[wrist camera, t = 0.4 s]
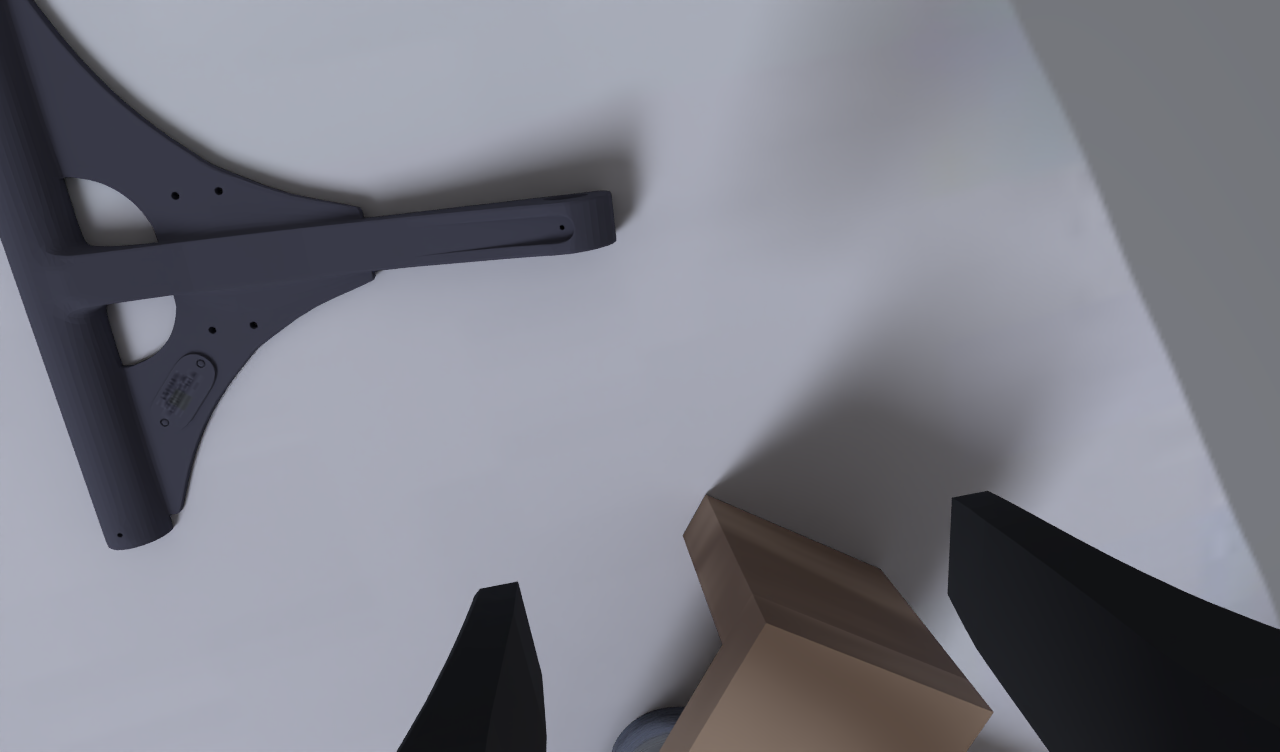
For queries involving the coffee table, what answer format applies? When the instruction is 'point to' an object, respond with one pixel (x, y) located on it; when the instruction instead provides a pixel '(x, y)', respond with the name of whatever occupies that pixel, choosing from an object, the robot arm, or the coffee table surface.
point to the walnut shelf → (814, 652)
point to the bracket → (190, 266)
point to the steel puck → (648, 731)
